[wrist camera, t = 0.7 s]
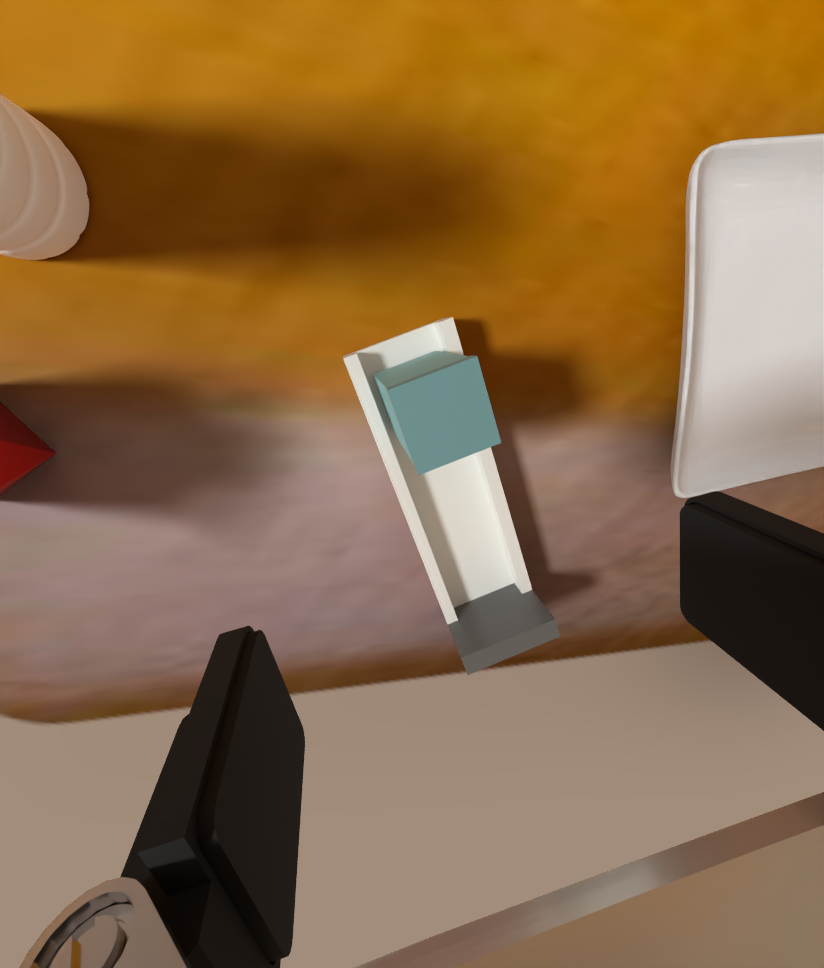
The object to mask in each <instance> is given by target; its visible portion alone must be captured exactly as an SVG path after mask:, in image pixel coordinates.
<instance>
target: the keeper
mask: <svg viewBox="0 0 824 968" xmlns="http://www.w3.org/2000/svg"><path fill="white" fill-rule="evenodd" d="M373 376H374V379H375V381H376V384H377V387H378V389H379V392H380V395H381V397H382V400H383V403H384V406H385V408H386V411H387V414H388V416H389V419H390V422H391V424H392V427H393V430H394V432H395V435H396V437H397V438H398V440H399V442H400V443H401V445H402V446H403V448H404V450H405V451H406V453H407V454H408V456H409V458H410V459H411V461H412V462H413V464H414V466H415V469H416V471H417V473H418V474H419V475H421V474H424V473H426V472H429V471H431V470H434V469H436V468H439V467H441V466H444V465H446V464H449V463H452V462H454V461H457V460H459V459H462V458H464V457H467V456H469V455H472V454H474V453H477V452H479V451H482V450H485V449H487V448H490V447H492V446H495V445H497V444H500V443H501V439H500V436H499V432H498V428H497V425H496V421H495V418H494V414H493V411H492V407H491V404H490V400H489V396H488V393H487V389H486V386H485V382H484V379H483V375H482V371H481V368H480V364H479V361H478V357H477V356H474V355H471V356H464V355H458V354H452V353H446V352H440V351H433V352H430V353H428V354H425V355H422V356H420V357H417V358H415V359H412V360H409V361H407V362H404V363H401V364H399V365H396V366H394V367H391V368H388V369H386V370H383V371H380V372H378V373H375V374H373Z"/></svg>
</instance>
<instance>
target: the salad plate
mask: <svg viewBox="0 0 824 968" xmlns="http://www.w3.org/2000/svg"><path fill="white" fill-rule="evenodd" d="M820 467H824V134H810V135H799V136H782V137H770V138H754V139H741V140H733V141H727V142H722V143H719V144H716V145H713V146H710V147H708V148H707V149H705V150H704V151H702V152H701V153H700V155H699V156H698V157H697V159H696V160H695V162H694V164H693V166H692V168H691V171H690V174H689V179H688V185H687V192H686V256H685V293H684V314H683V334H682V351H681V367H680V379H679V392H678V402H677V412H676V422H675V430H674V439H673V447H672V456H671V481H672V487H673V491H674V493H675V495H676V496H678V497H680V498H688V497H693V496H698V495H702V494H706V493H709V492H714V491H720V490H724V489H729V488H733V487H737V486H741V485H746V484H750V483H754V482H758V481H762V480H767V479H771V478H775V477H779V476H783V475H788V474H793V473H797V472H802V471H806V470H810V469H815V468H820Z"/></svg>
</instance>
